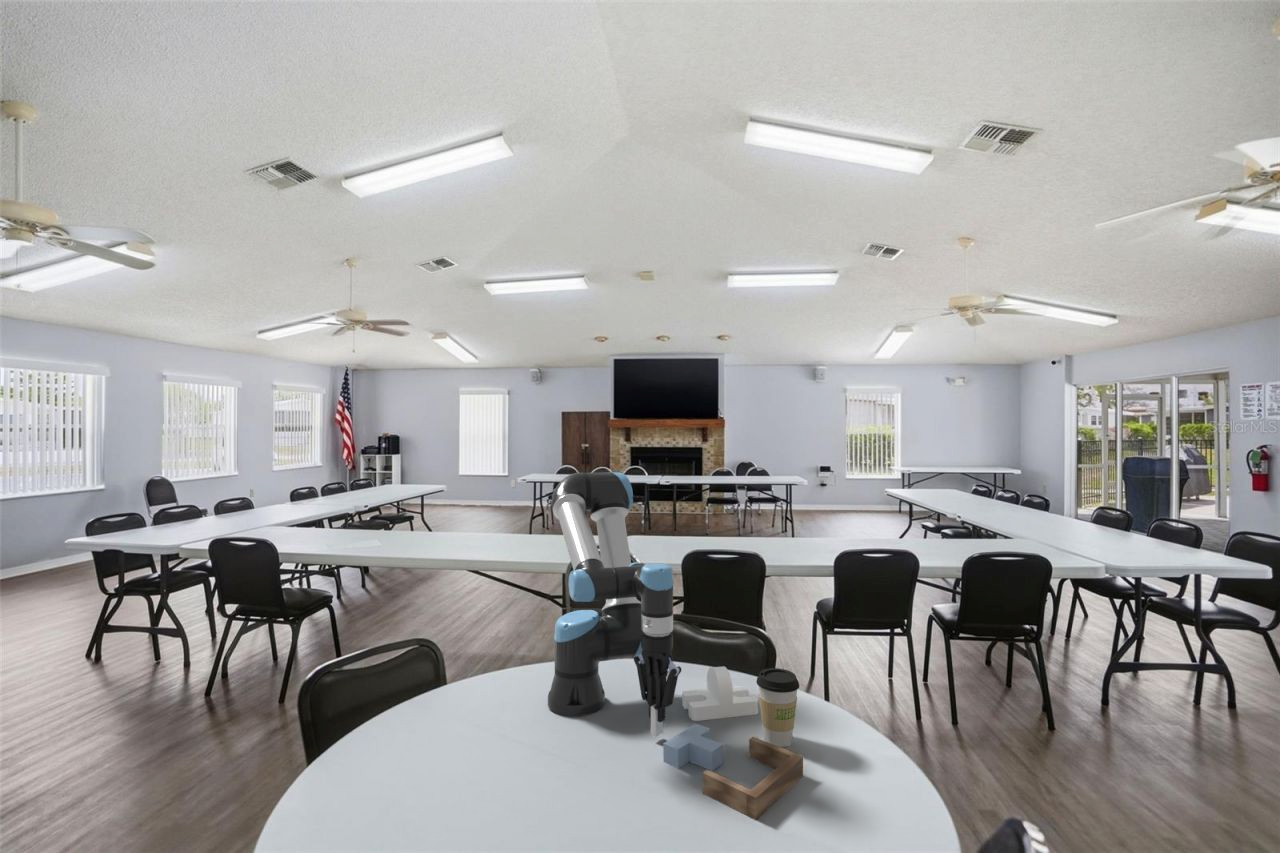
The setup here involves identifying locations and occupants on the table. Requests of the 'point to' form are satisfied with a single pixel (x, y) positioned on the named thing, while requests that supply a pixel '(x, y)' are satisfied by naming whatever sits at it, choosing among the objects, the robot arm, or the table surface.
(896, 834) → the table surface
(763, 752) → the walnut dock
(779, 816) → the table surface
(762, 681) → the coffee cup
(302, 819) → the table surface
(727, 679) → the white slotted block
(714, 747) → the t block
